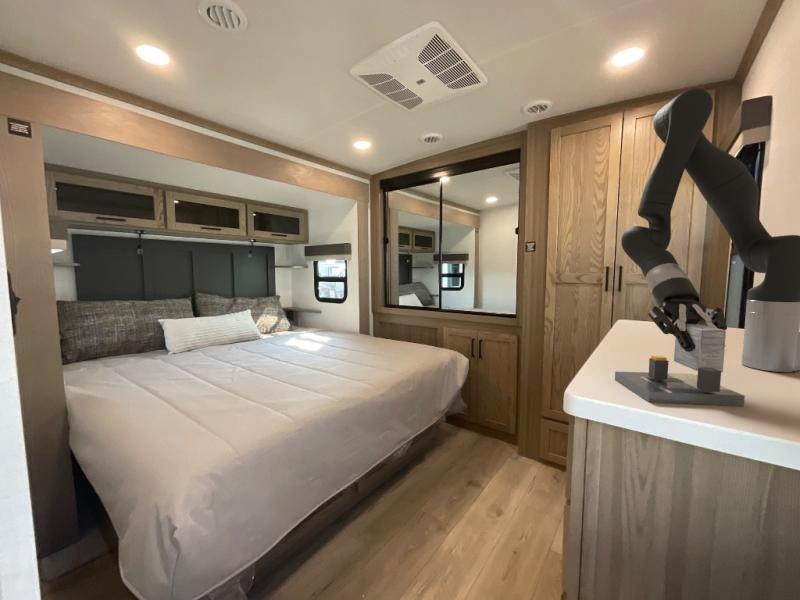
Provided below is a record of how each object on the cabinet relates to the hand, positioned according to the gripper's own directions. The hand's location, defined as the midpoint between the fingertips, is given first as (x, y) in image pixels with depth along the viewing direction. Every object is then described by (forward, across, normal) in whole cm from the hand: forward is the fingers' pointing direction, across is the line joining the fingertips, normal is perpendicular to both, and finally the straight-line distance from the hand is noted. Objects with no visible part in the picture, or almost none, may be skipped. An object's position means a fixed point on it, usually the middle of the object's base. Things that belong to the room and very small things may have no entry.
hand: (705, 349), depth 67 cm
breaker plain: (+8, -2, +1) cm, 8 cm away
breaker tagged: (+4, -7, +6) cm, 10 cm away
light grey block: (+2, 0, +4) cm, 5 cm away
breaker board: (+6, -5, +7) cm, 10 cm away
